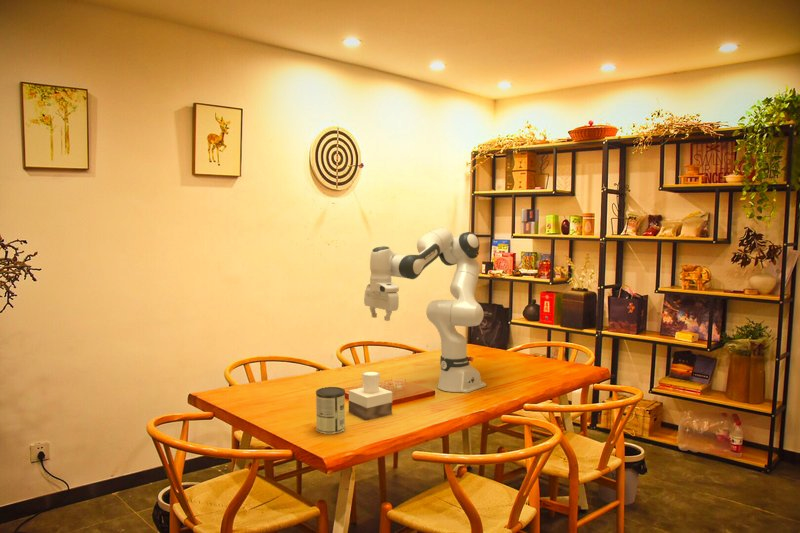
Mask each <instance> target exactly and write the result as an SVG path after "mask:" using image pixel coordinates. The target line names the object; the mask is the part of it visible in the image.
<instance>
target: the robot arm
mask: <svg viewBox="0 0 800 533" xmlns="http://www.w3.org/2000/svg"><path fill="white" fill-rule="evenodd" d="M416 249H417V252H418V254H399V253H396V252H394V251H393V250H391V249H390V246H385V245H384V246H383V245H382V246H378V247H374V248H373V249H372V250H371V253H370V259H369V261H370V262H369V269H370V277H369V284H367V285H366V287H365V290H364V298H363V304H364V306H367V307H369V310H370V313H371V318H375V319H376V318H377V317H378V313H376V309H380V310H385V313H386V314H385V316H384V319H383V320H384V321H386V322H389V321H391V315H392V313H393V312H394V311H395V312H396V311H397V310H398V309H399V303H400V301H399V294H398V292H399V289H400V287H399V286H398V285H396V284H395V283H394V282H393V281H392V277H396V278H403V279H409V280H415V279H417V278H418V277H419V276H420V275H421V274H422V273H423V271H424V270H425V268H427V267H428V266H430V265H431V264H432V263H433V262H434V261H436V260H437V258H439V259H440V261H441V263H442V264H444V265H445V266H450V267H451V266H455V265H456V269H455V272H454V275H453V278H452V280H451V283H450V285H449V286H450V287H449V291H450V294H451V296H452V297H453V298H455V300H453V299H436V300H431V301H430V302H429V303H428V305H427V307H426V311H425V312H426V318H427V319H428V321H429V322H430V323H431V324H433V325H434V326H435V328H436V329H437V332H438V333H439V337H440V344H441V346H440V347H441V349H440V350H441V355H440V362H439V363H440V364H439V365H440V372H439V379H438V384H437V389H438V390H441V391H445V392H450V393H451V392H452V393H470V392H474V391H476V390H479V389H482V388H485V387H487V382H485V381H482V380H481V379H482V376H481V373H480V372H479V370H478V369H476V368H475V367H474V366H472V365H471V364H470V362H474V360H475V358H474V357H473V356H467V354H468V353H467V343H468V342H467V341H468V340H467V339H466V337H465V335H463V334H462V333H460V332H458V330H457V329H456V327H457V326H458V327H467V328H468V327H476V326H479V325H480V324H481V323H482V321H483V319H484V317H485V316H484V315H485V313H484V310H483V307H482V305H481V304H480V303H479V302H477V300H476V297H475V292H476V288H477V284H478V281H479V276H480V270H481V269H480V263H479V262H478V260H476V258H478V256H479V254H480V252H479V250H480V240H479V238H478V236H477V235H476V234H475V233H474V232H471V231H467V232H463V233H461V234H459V235H457V236H456V237H454V236H453V233H452V232H451V231H450V229H448V228H446V227H439V228H435V229H432V230H430V231H429V232H426V233H424V234H423V235H422V236H420V237H419V238H418V240H417V243H416ZM455 326H456V327H455Z"/></svg>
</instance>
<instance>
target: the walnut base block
mask: <svg viewBox="0 0 800 533" xmlns="http://www.w3.org/2000/svg"><path fill="white" fill-rule="evenodd" d="M392 412H393V402H391V403H387V404H383V405H379V406H374V407H370V408H365V407H363V406H361V405H358V404H356V403H353V402H351V401H349V400H348V413H350V414H351V415H353V416H355V417H358V418H360V419H361V420H364V421H370V420H374V419H378V418H383V417H387V416H391V415H393V413H392Z"/></svg>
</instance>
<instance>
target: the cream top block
mask: <svg viewBox="0 0 800 533" xmlns="http://www.w3.org/2000/svg"><path fill="white" fill-rule="evenodd" d="M349 401H351V402H353V403H356V404H358V405H361V406H363V407H365V408H370V407H374V406H379V405H383V404H387V403H393V391H391V390H388V389H385V388H383V387H380V386H379V389H378V392H377V393H365V392H364V389H363V387H359V388H354V389H349V390H348V402H349Z"/></svg>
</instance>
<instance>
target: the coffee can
mask: <svg viewBox="0 0 800 533" xmlns="http://www.w3.org/2000/svg"><path fill="white" fill-rule="evenodd" d="M315 394H316V397H315V398H316V399H315V401H316V402H315V403H316V408H315V409H316V410H315V411H316V432H317V433H319V432H320V433H319V434H322V433H324V435H335V433H337V434H340V433H343V432H344V431H345V429H346V415H345V414H346V406H345V405H346V402H345V401H346V399H345V397H346V395H345V394H346V390H345V388H342V387H337V386H328V387H327V386H326V387H321V388H319V389H316V391H315ZM342 431H343V432H342Z"/></svg>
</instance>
